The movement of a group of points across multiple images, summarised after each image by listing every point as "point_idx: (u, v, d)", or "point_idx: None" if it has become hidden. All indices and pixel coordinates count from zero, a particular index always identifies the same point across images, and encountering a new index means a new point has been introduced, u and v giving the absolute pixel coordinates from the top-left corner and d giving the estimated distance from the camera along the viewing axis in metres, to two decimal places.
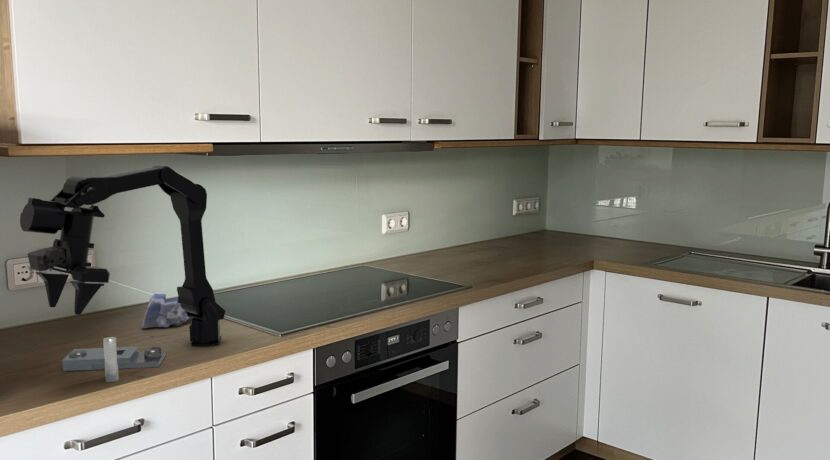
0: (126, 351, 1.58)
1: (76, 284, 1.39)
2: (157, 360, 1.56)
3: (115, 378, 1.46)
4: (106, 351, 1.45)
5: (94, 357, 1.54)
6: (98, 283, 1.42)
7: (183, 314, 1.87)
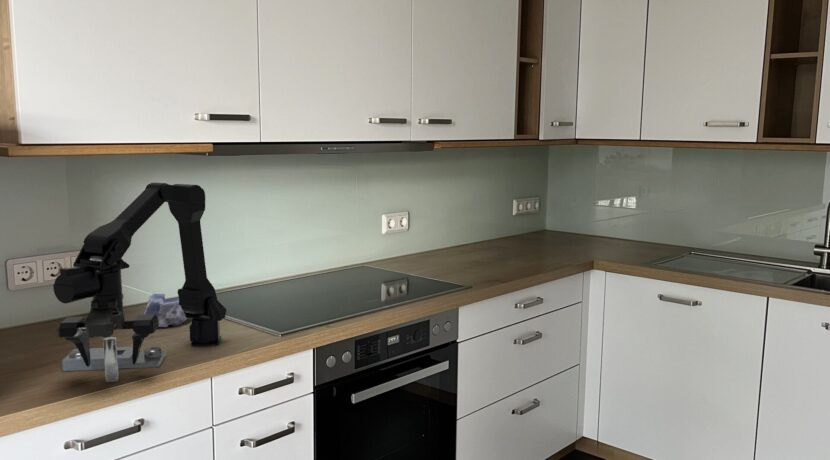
0: (126, 351, 1.58)
1: (141, 337, 1.44)
2: (157, 360, 1.56)
3: (115, 378, 1.46)
4: (106, 351, 1.45)
5: (94, 357, 1.54)
6: None
7: (182, 314, 1.87)
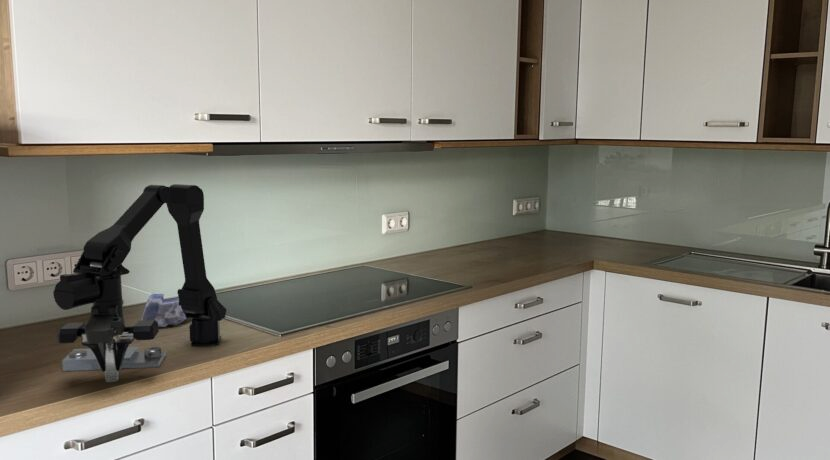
0: (126, 351, 1.58)
1: (125, 344, 1.44)
2: (157, 360, 1.56)
3: (115, 378, 1.46)
4: (106, 351, 1.45)
5: (94, 357, 1.54)
6: None
7: (181, 314, 1.87)
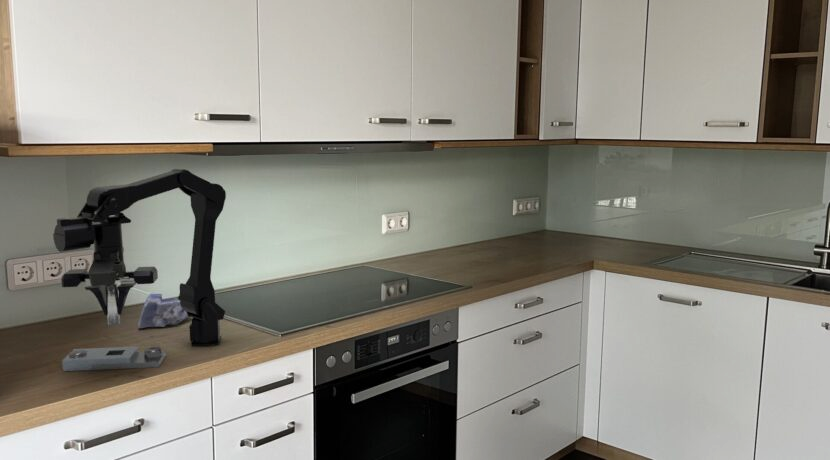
0: (126, 351, 1.58)
1: (126, 288, 1.51)
2: (157, 360, 1.56)
3: (117, 321, 1.54)
4: (108, 295, 1.52)
5: (94, 357, 1.54)
6: (135, 281, 1.55)
7: (179, 314, 1.87)
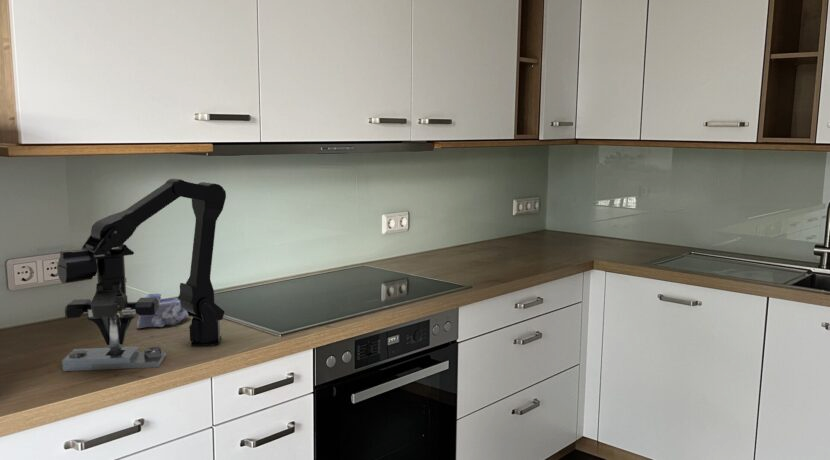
0: (126, 351, 1.58)
1: (128, 319, 1.54)
2: (157, 360, 1.56)
3: (118, 351, 1.56)
4: (110, 326, 1.55)
5: (94, 357, 1.54)
6: None
7: (178, 314, 1.87)
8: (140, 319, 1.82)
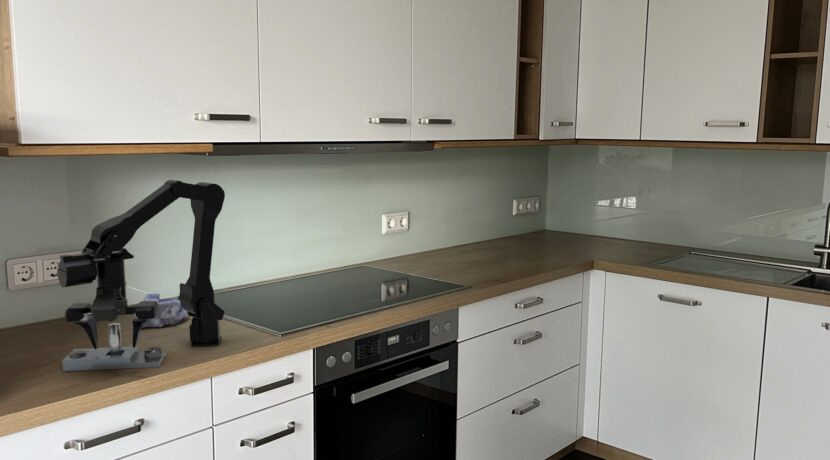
0: (126, 351, 1.58)
1: (141, 322, 1.54)
2: (157, 360, 1.56)
3: None
4: (111, 336, 1.55)
5: (94, 357, 1.54)
6: None
7: (177, 314, 1.87)
8: None
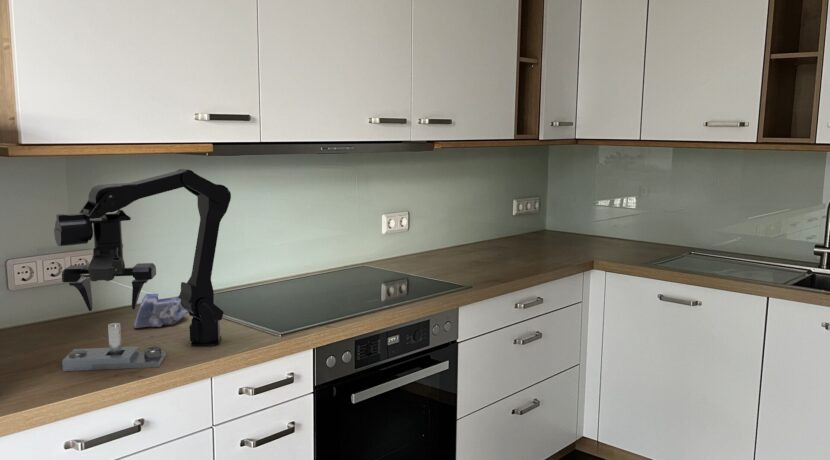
0: (126, 351, 1.58)
1: (140, 283, 1.55)
2: (157, 360, 1.56)
3: None
4: (111, 336, 1.55)
5: (94, 357, 1.54)
6: None
7: (175, 314, 1.87)
8: (138, 319, 1.82)
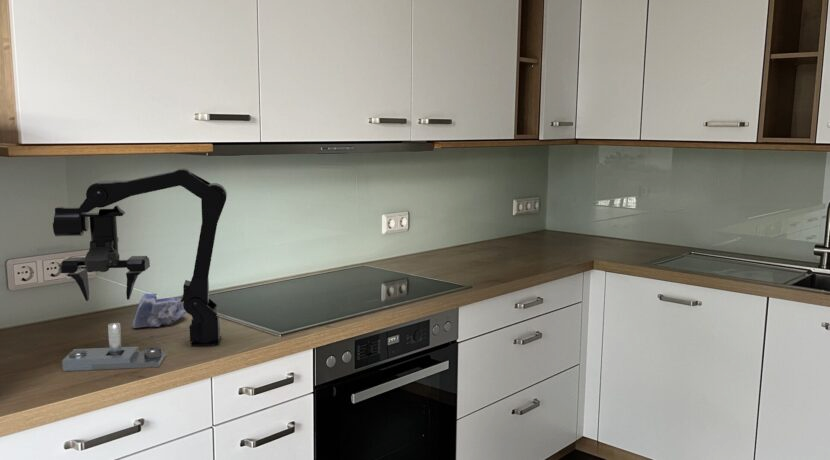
0: (126, 351, 1.58)
1: (134, 274, 1.63)
2: (157, 360, 1.56)
3: None
4: (111, 336, 1.55)
5: (94, 357, 1.54)
6: None
7: (174, 313, 1.88)
8: (136, 319, 1.82)
